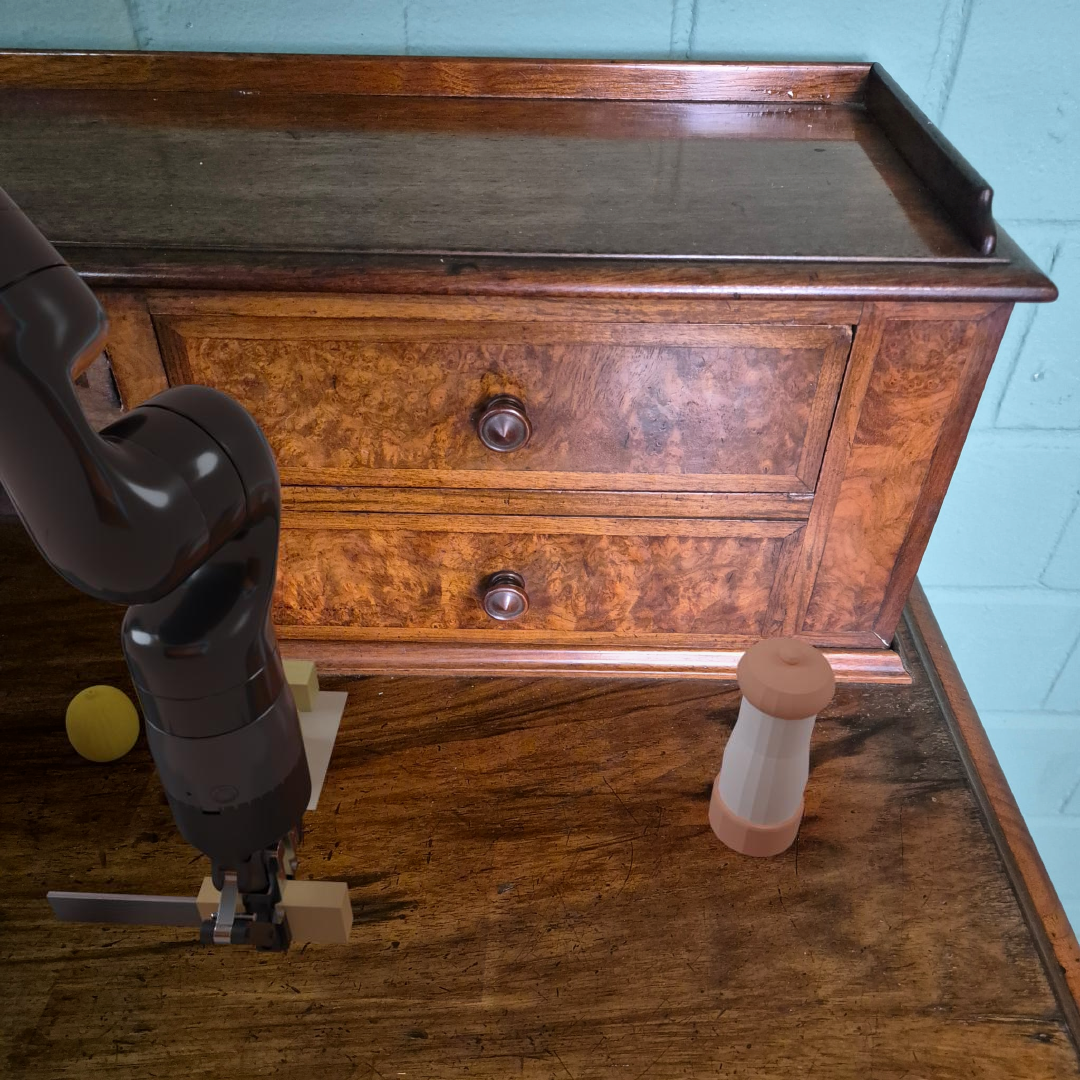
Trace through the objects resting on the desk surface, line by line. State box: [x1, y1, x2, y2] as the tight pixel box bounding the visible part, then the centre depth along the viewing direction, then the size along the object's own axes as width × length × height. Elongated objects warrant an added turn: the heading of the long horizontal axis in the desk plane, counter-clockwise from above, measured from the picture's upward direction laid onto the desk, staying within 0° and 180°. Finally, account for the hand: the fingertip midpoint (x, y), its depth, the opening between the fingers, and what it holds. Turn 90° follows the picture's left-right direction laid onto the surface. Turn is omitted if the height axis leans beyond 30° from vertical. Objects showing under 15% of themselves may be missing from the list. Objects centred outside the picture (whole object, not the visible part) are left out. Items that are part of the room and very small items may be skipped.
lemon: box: [65, 684, 140, 763], centre depth 81 cm, size 6×6×8 cm
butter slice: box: [282, 659, 320, 711], centre depth 87 cm, size 4×3×4 cm, turn 88°
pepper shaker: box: [707, 636, 836, 858], centre depth 73 cm, size 7×7×19 cm
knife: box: [45, 876, 354, 944], centre depth 60 cm, size 19×2×4 cm, turn 88°
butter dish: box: [299, 690, 349, 811], centre depth 83 cm, size 10×13×1 cm
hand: (279, 927), depth 61 cm, fingers closed on knife, 2 cm apart
